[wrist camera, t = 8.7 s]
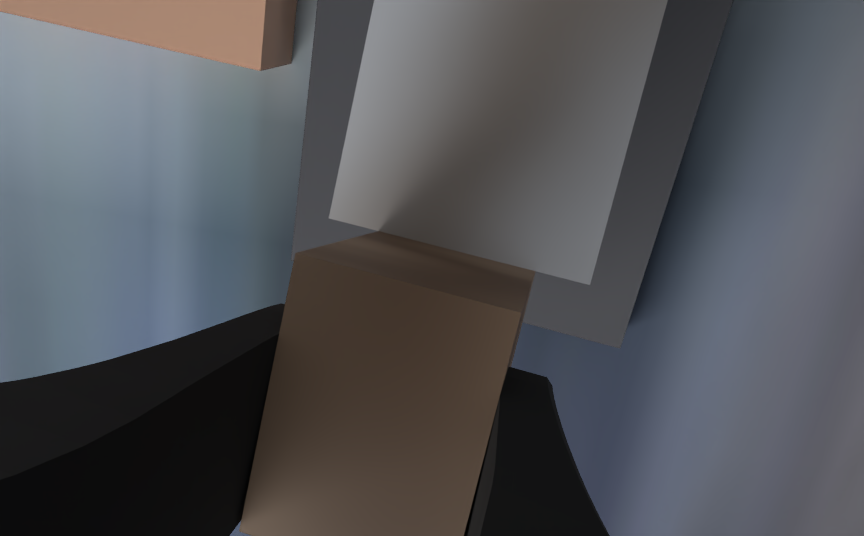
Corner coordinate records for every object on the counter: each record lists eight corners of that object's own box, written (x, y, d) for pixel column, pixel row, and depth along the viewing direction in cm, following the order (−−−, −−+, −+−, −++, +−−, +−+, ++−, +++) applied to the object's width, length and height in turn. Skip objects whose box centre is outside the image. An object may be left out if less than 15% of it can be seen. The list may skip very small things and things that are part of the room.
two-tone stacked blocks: (302, 402, 15) (173, 509, 10) (432, -211, 13) (351, -447, 8) (536, 472, 14) (521, 625, 9) (709, -167, 12) (805, -399, 7)
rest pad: (305, 248, 20) (291, 260, 19) (361, -255, 15) (345, -270, 15) (619, 331, 19) (620, 348, 18) (788, -191, 14) (799, -203, 13)
